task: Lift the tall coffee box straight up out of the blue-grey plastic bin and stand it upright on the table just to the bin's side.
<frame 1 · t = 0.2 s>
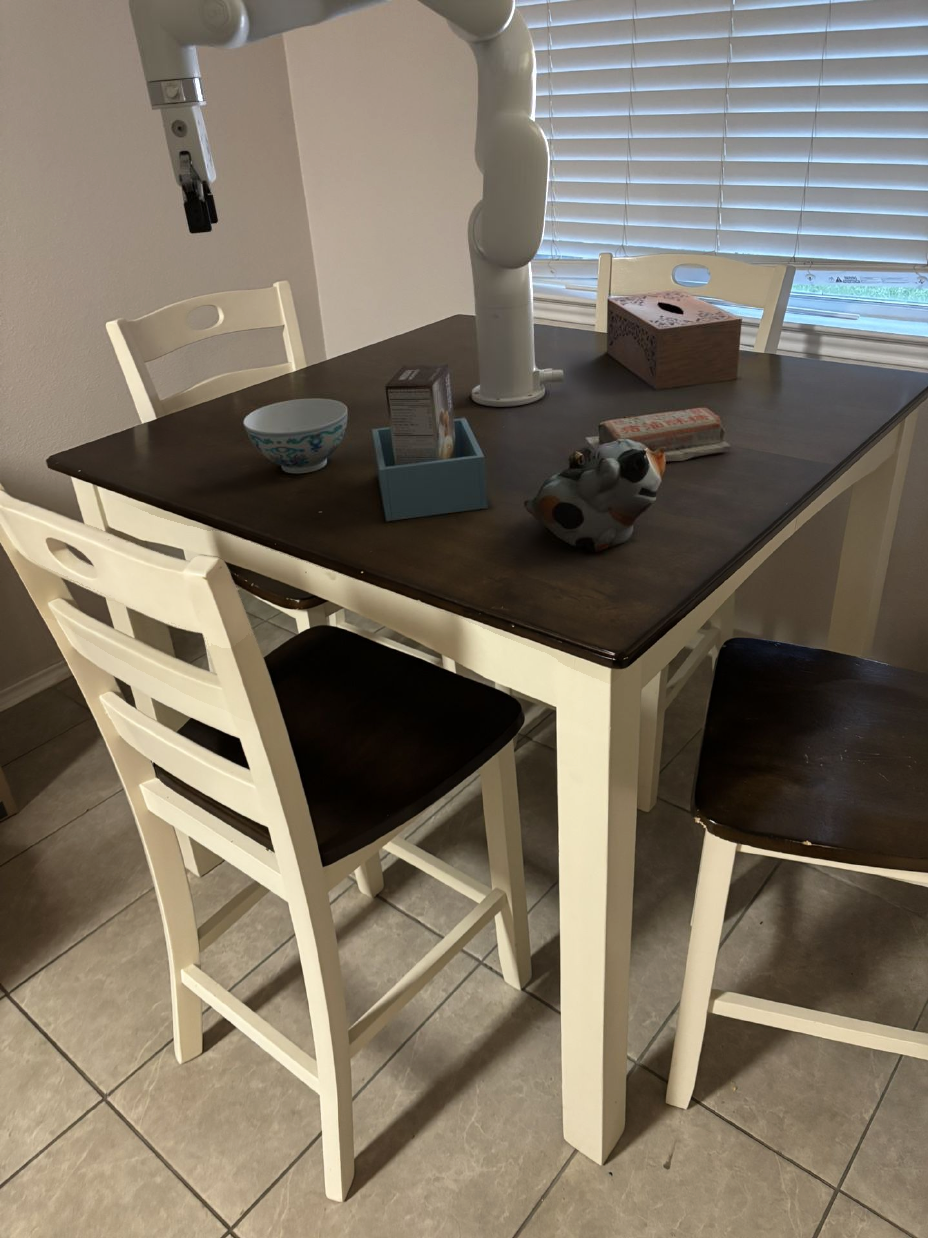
hand: (204, 227, 134), 31 cm above the table, tool pointing down, fingers open, 9 cm apart
tissue box cover: (667, 365, 163), on the table
packaged product: (655, 452, 127), on the table
chinaware: (304, 466, 133), on the table
bin: (430, 491, 121), on the table
coffee box: (430, 492, 121), resting in bin
lucky cat figurine: (596, 531, 107), on the table
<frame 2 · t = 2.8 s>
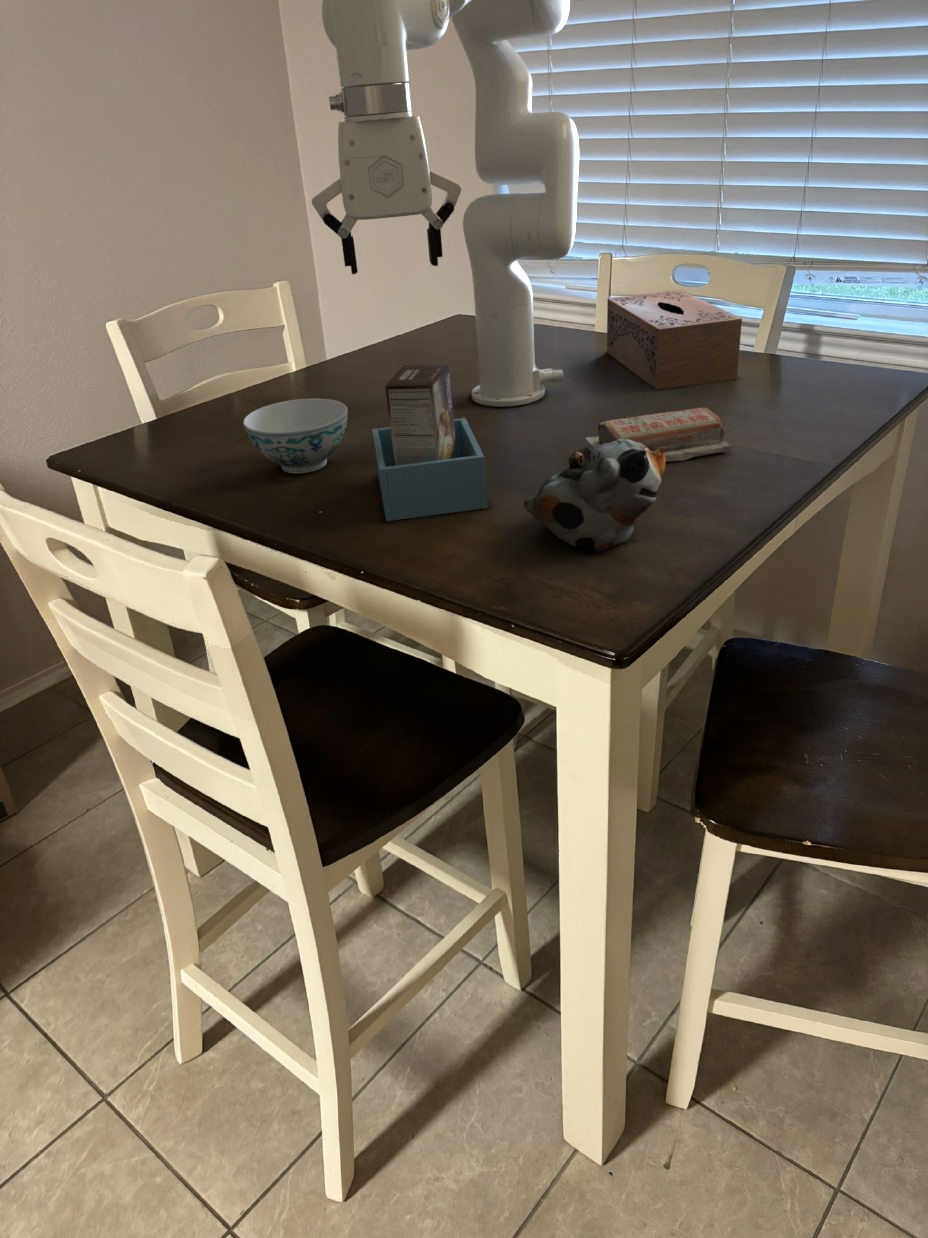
hand: (394, 268, 107), 28 cm above the table, tool pointing down, fingers open, 9 cm apart
nothing on the table moved.
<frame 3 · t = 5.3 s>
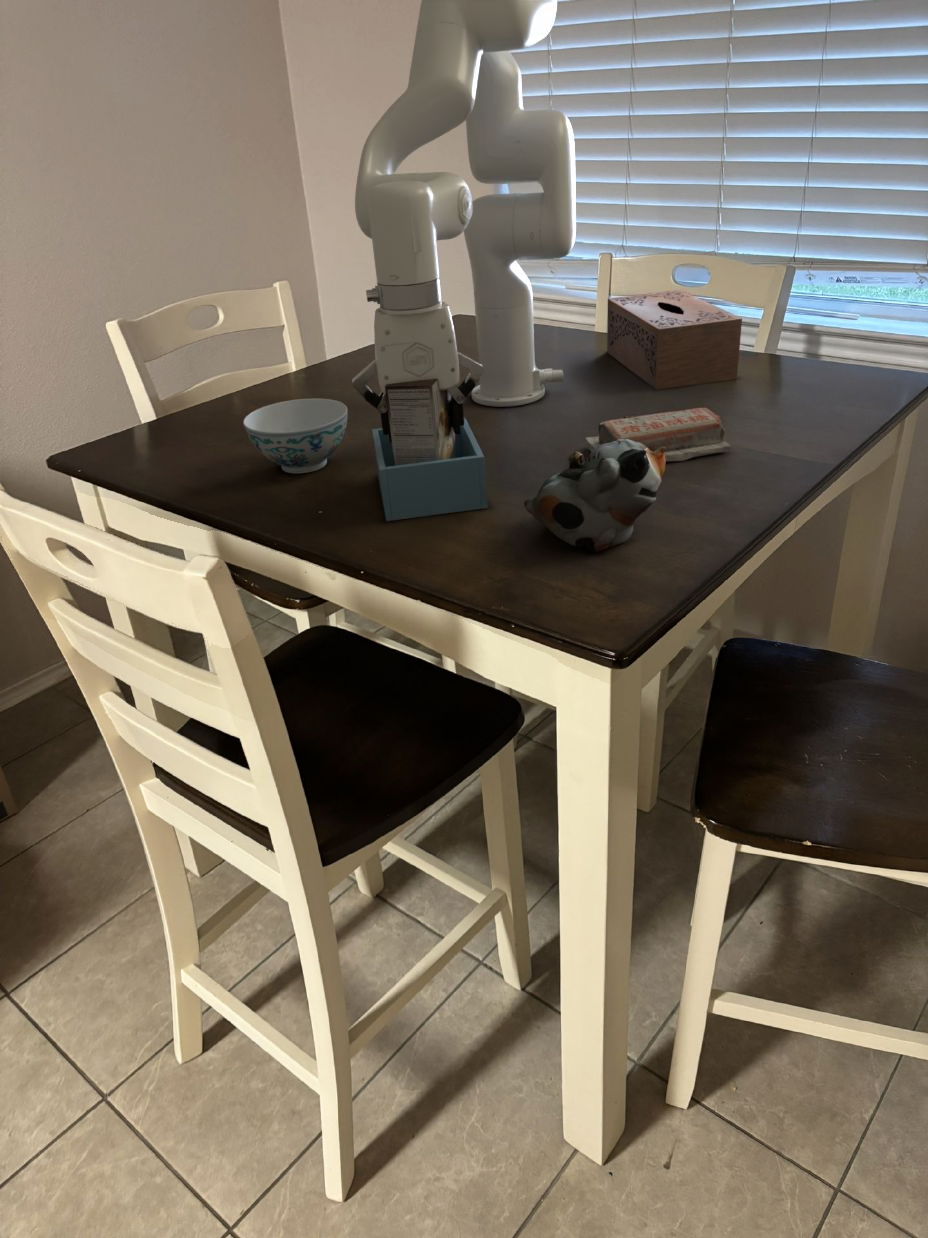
hand: (424, 434, 117), 8 cm above the table, tool pointing down, fingers closed on coffee box, 8 cm apart
coffee box: (430, 492, 121), resting in bin, touching gripper
everything else where it was.
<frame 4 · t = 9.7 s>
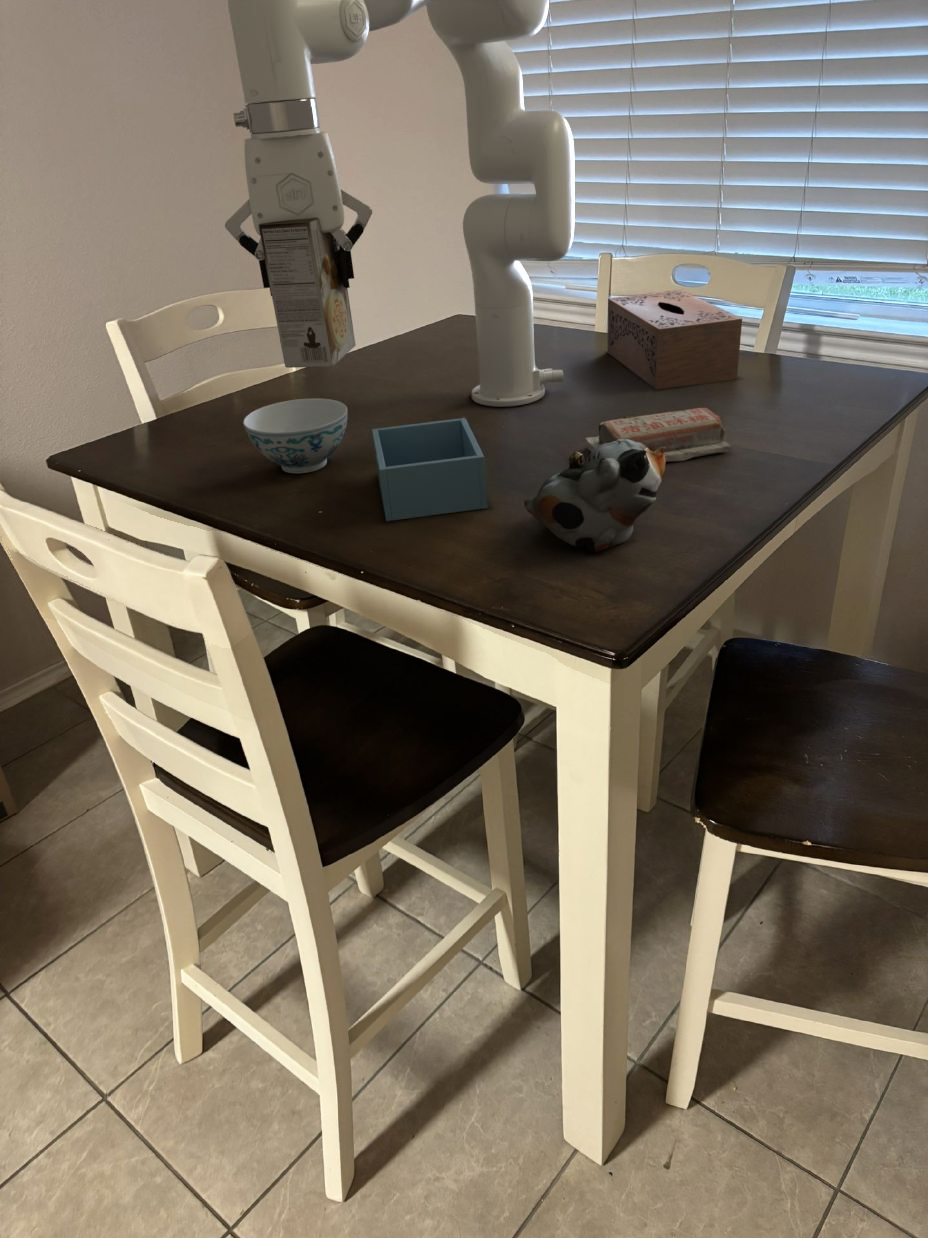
hand: (310, 288, 106), 27 cm above the table, tool pointing down, fingers closed on coffee box, 8 cm apart
coffee box: (321, 358, 110), point 19 cm above the table, touching gripper
everything else where it was.
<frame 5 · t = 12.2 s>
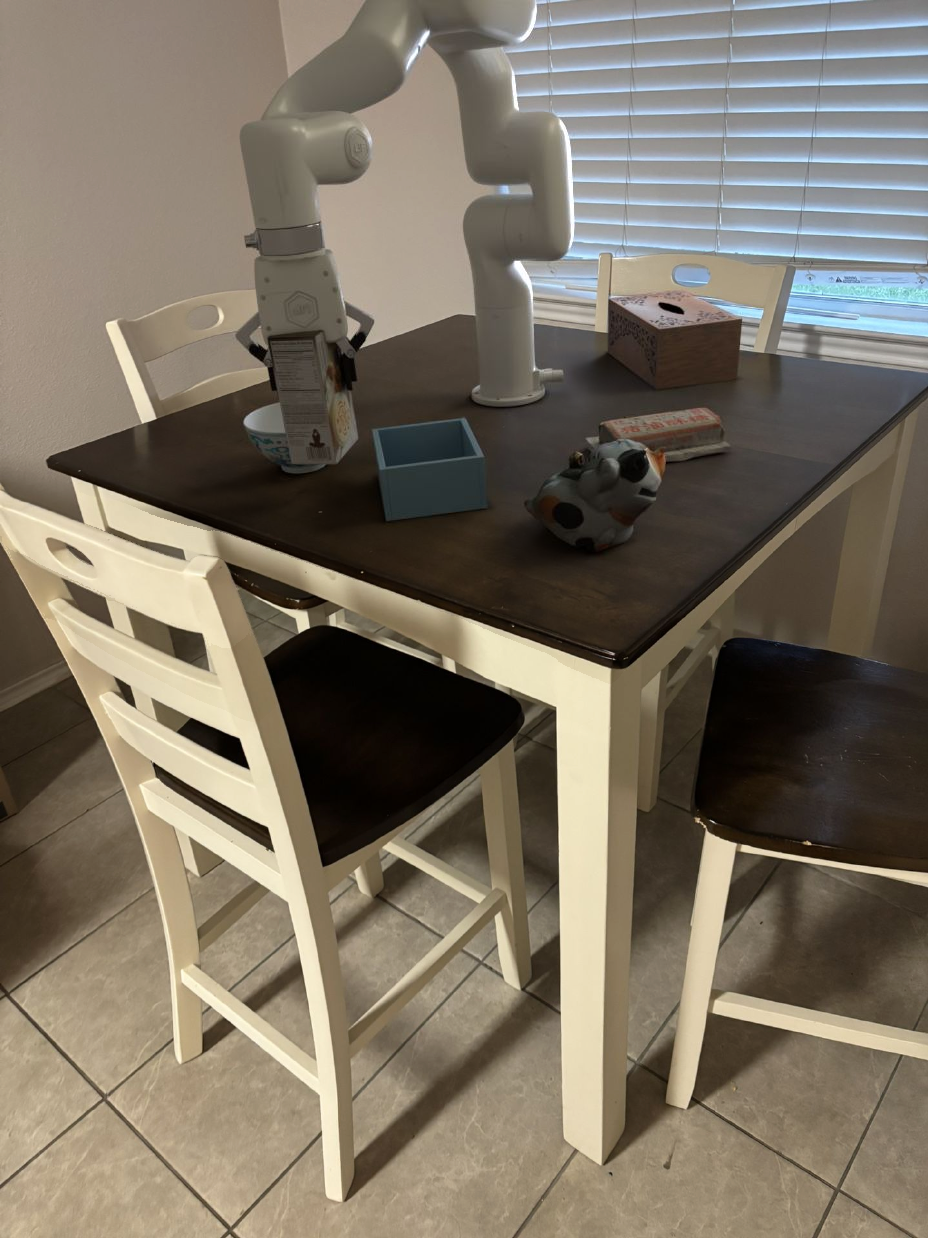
hand: (315, 390, 112), 15 cm above the table, tool pointing down, fingers closed on coffee box, 8 cm apart
coffee box: (325, 453, 116), point 7 cm above the table, touching gripper
everything else where it was.
when the fingers open (8 cm above the table, at t = 14.4 s): coffee box stays where it is, on the table.
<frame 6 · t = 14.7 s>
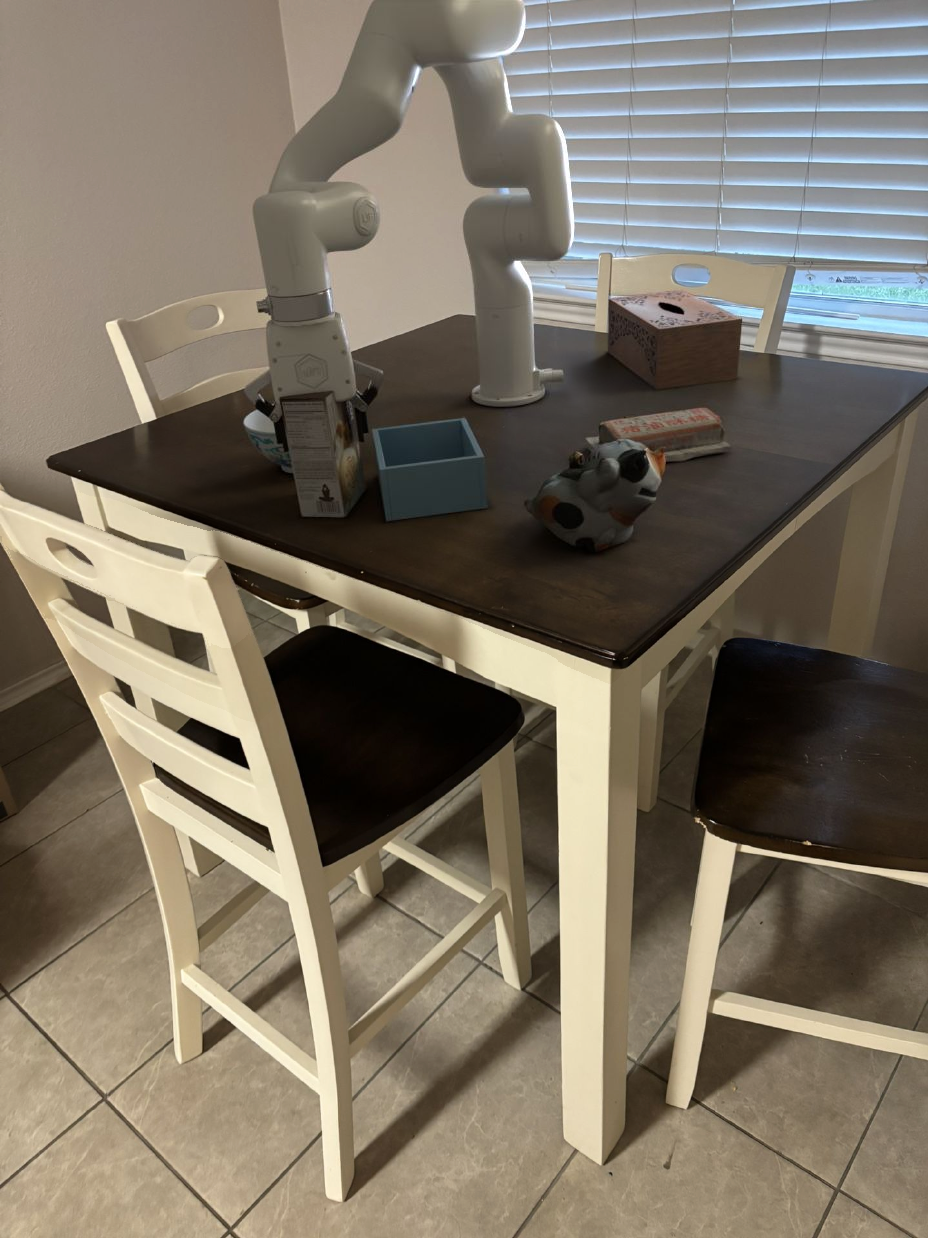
hand: (324, 443, 115), 8 cm above the table, tool pointing down, fingers open, 9 cm apart
coffee box: (334, 504, 120), on the table
everything else where it was.
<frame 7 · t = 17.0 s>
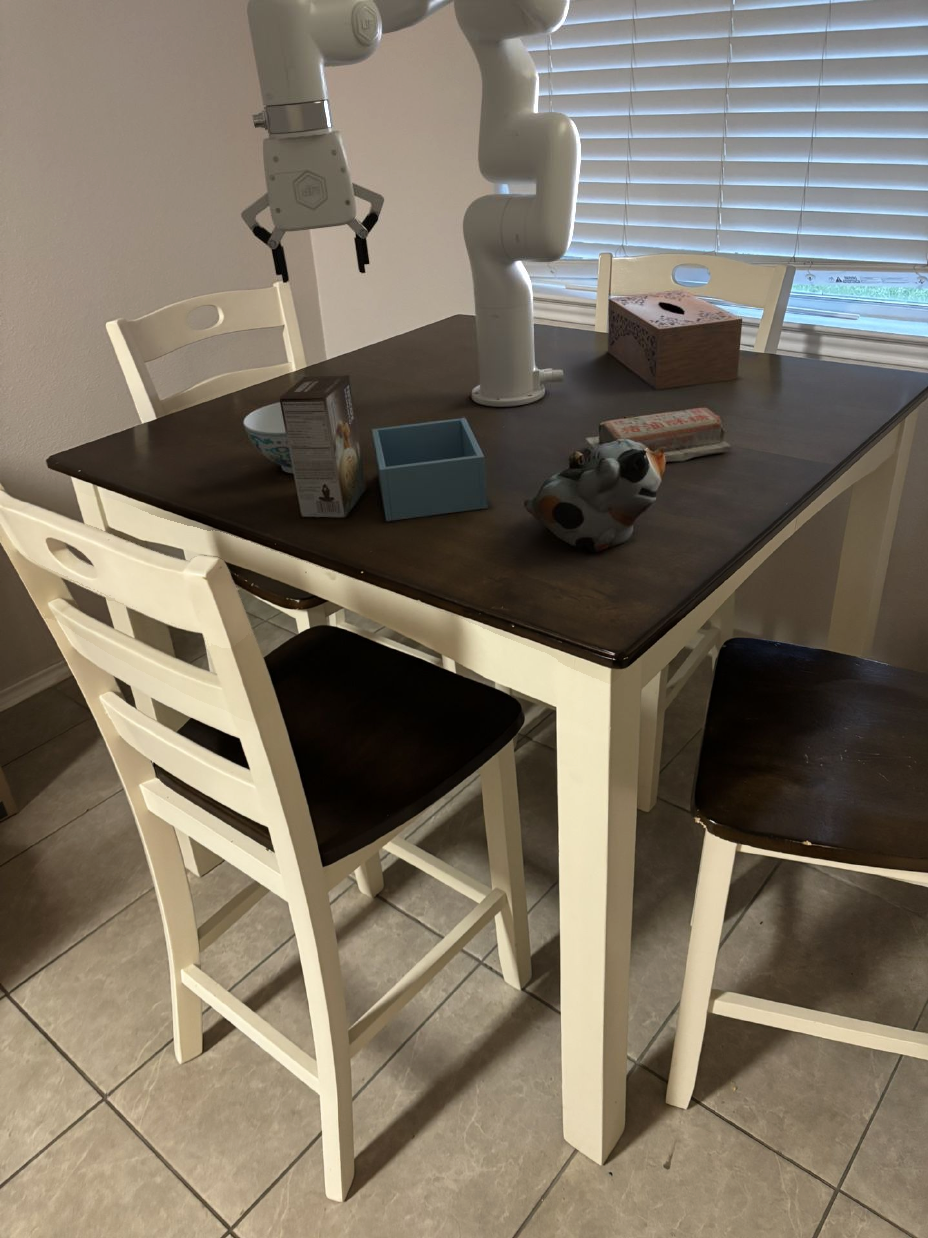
hand: (324, 275, 113), 27 cm above the table, tool pointing down, fingers open, 9 cm apart
nothing on the table moved.
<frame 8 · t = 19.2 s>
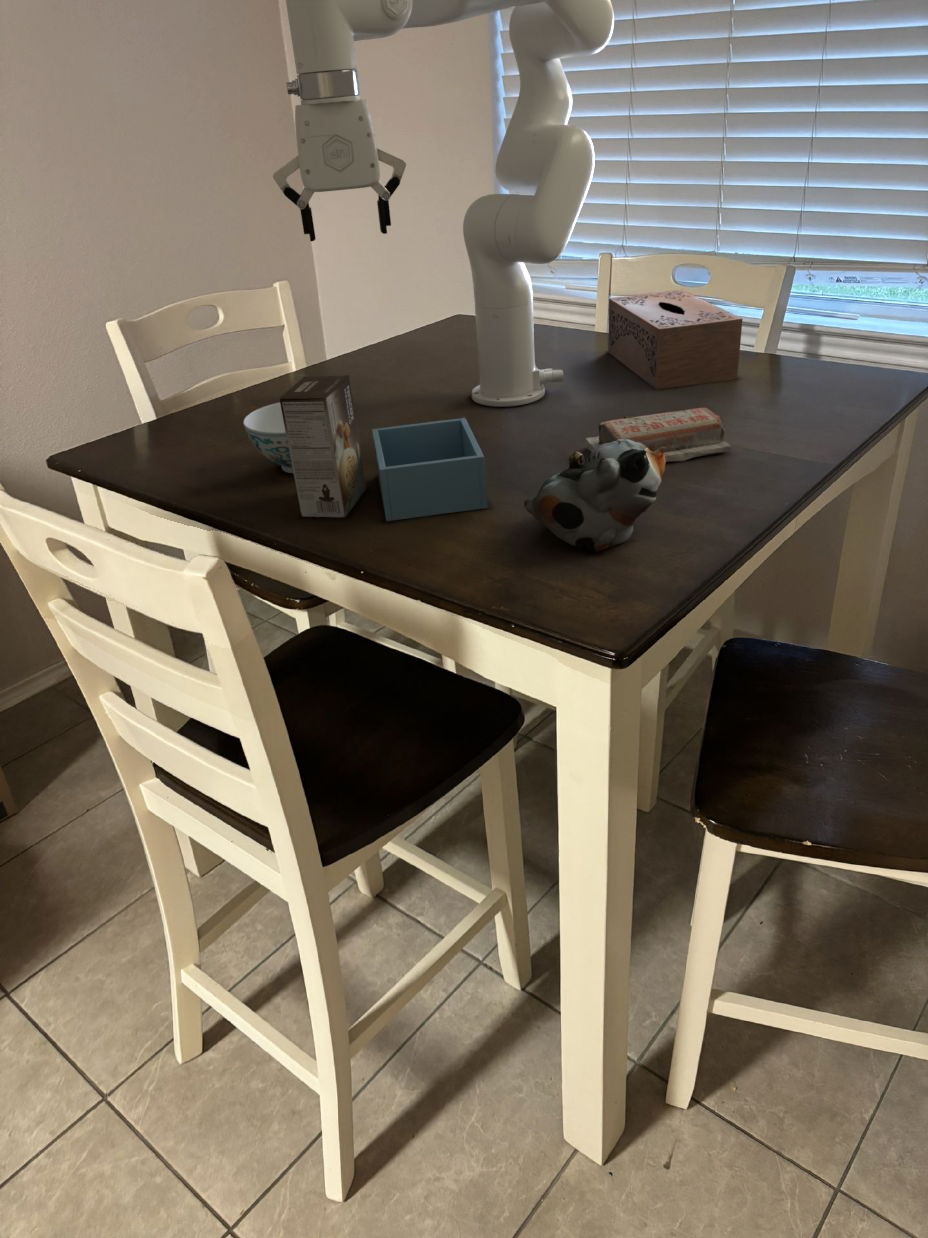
hand: (348, 235, 121), 30 cm above the table, tool pointing down, fingers open, 9 cm apart
nothing on the table moved.
at the end: coffee box inside the target area (0.1 cm from its centre), on the table; coffee box tilted 0°; coffee box touching table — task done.
